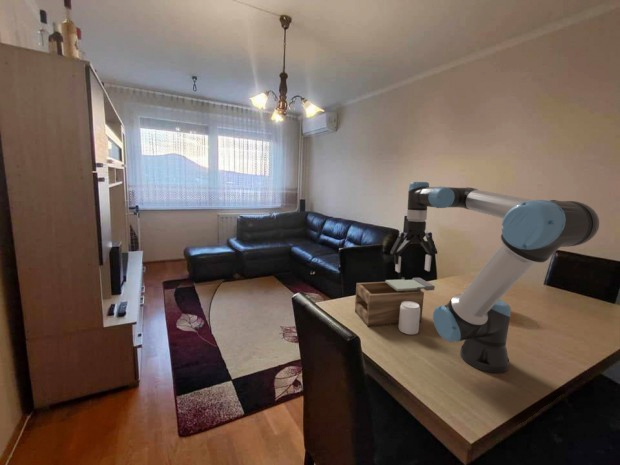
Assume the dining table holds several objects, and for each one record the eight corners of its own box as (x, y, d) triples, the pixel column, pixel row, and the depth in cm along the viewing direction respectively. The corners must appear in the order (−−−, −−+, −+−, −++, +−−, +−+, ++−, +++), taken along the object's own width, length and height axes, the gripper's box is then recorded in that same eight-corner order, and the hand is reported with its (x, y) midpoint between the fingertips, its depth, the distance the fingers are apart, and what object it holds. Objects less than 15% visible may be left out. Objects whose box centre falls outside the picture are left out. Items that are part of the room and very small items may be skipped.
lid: (434, 290, 134) (434, 285, 134) (397, 292, 130) (397, 287, 130) (419, 281, 146) (419, 277, 145) (385, 283, 142) (385, 279, 142)
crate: (421, 322, 133) (424, 288, 131) (367, 326, 128) (369, 291, 125) (403, 308, 149) (405, 276, 146) (354, 311, 143) (356, 279, 141)
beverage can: (420, 336, 121) (423, 308, 119) (401, 335, 121) (403, 308, 120) (414, 326, 129) (416, 301, 127) (396, 326, 129) (398, 300, 127)
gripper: (438, 219, 125) (433, 267, 128) (383, 219, 120) (380, 269, 123) (449, 221, 118) (444, 272, 121) (392, 221, 113) (389, 274, 116)
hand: (412, 271), depth 122 cm, fingers open, 13 cm apart
